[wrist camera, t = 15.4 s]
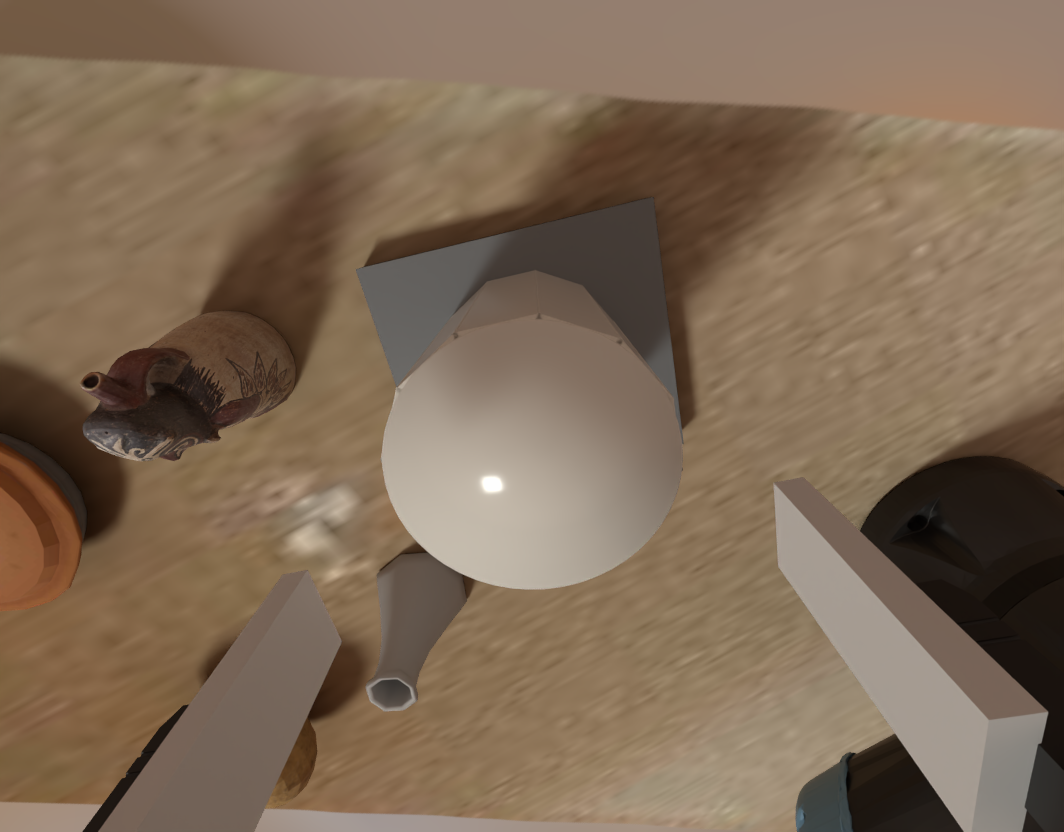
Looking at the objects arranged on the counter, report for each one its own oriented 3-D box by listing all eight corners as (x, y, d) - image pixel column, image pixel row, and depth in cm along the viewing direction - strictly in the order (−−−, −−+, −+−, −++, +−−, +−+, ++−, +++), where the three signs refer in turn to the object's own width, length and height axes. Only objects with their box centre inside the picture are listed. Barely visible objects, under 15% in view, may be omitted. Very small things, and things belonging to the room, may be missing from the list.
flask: (441, 537, 39) (414, 638, 30) (481, 602, 41) (467, 714, 32) (362, 566, 40) (311, 673, 31) (405, 629, 42) (371, 744, 33)
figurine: (194, 400, 34) (33, 489, 23) (185, 299, 32) (-1, 344, 21) (298, 417, 35) (189, 511, 24) (297, 318, 32) (175, 372, 21)
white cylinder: (602, 253, 29) (663, 286, 16) (630, 423, 34) (697, 562, 20) (421, 296, 30) (335, 361, 17) (470, 456, 34) (432, 610, 21)
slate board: (647, 197, 30) (653, 197, 28) (677, 434, 35) (683, 443, 34) (363, 267, 31) (355, 269, 30) (437, 483, 37) (434, 493, 36)
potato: (171, 664, 44) (99, 755, 36) (330, 669, 44) (290, 761, 37) (194, 738, 48) (132, 834, 40) (341, 742, 48) (306, 839, 40)
